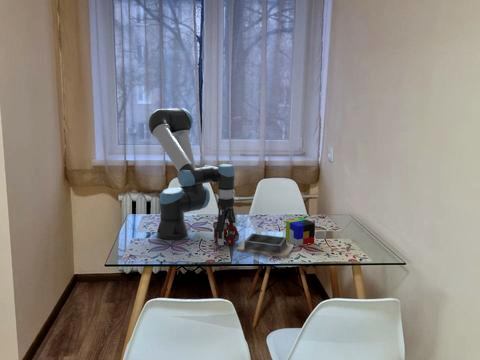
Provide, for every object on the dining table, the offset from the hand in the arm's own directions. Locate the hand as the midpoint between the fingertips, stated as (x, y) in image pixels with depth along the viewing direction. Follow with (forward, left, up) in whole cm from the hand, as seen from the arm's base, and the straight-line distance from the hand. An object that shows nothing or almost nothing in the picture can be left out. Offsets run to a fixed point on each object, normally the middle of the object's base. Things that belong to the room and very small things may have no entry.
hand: (225, 240), depth 214 cm
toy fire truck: (0, 0, -2) cm, 2 cm away
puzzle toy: (+33, +15, -2) cm, 36 cm away
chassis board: (+20, 0, -1) cm, 20 cm away
